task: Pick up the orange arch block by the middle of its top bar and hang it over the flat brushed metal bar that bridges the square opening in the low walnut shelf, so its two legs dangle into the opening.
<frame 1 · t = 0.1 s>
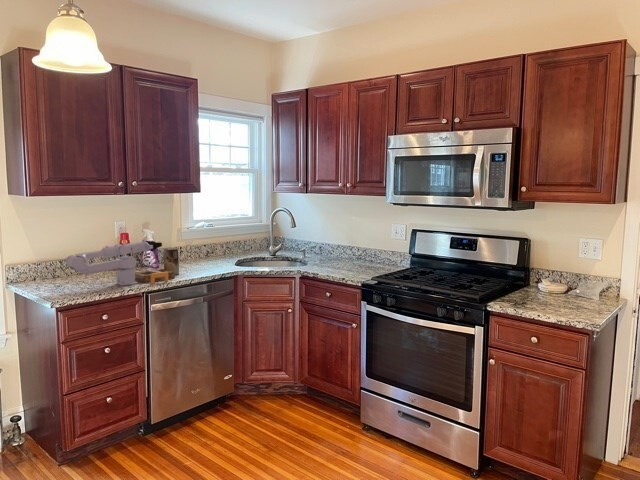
hand: (158, 243, 283), 22 cm above the worktop, tool horizontal, fingers open, 7 cm apart
coffee box: (171, 274, 302), on the worktop
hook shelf: (153, 278, 286), on the worktop
orange arch block: (159, 282, 275), on the worktop
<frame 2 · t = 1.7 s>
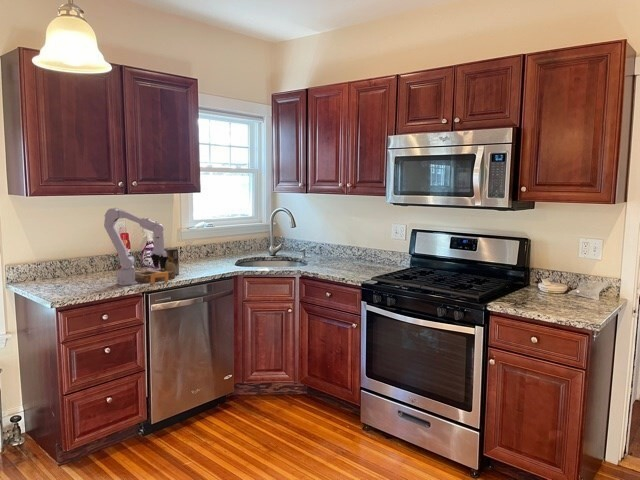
hand: (159, 267, 274), 9 cm above the worktop, tool pointing down, fingers open, 7 cm apart
nothing on the worktop moved.
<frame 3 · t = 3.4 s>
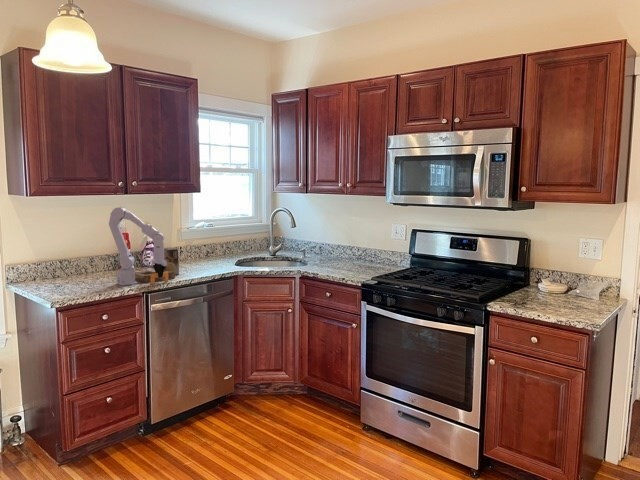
hand: (159, 276, 274), 4 cm above the worktop, tool pointing down, fingers closed on orange arch block, 2 cm apart
orange arch block: (159, 282, 275), on the worktop, touching gripper
everything else where it was.
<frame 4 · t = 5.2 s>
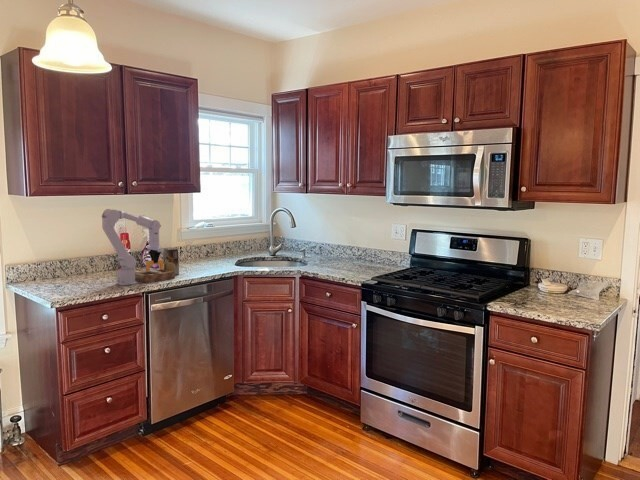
hand: (154, 262, 282), 10 cm above the worktop, tool pointing down, fingers closed on orange arch block
orange arch block: (154, 270, 282), point 6 cm above the worktop, touching gripper
everything else where it was.
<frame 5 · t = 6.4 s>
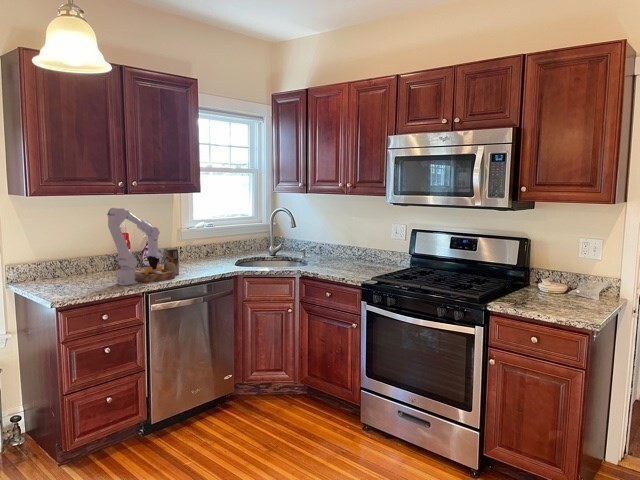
hand: (153, 268, 285), 6 cm above the worktop, tool pointing down, fingers closed on orange arch block, 2 cm apart
orange arch block: (153, 276, 285), point 1 cm above the worktop, touching gripper, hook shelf
everything else where it was.
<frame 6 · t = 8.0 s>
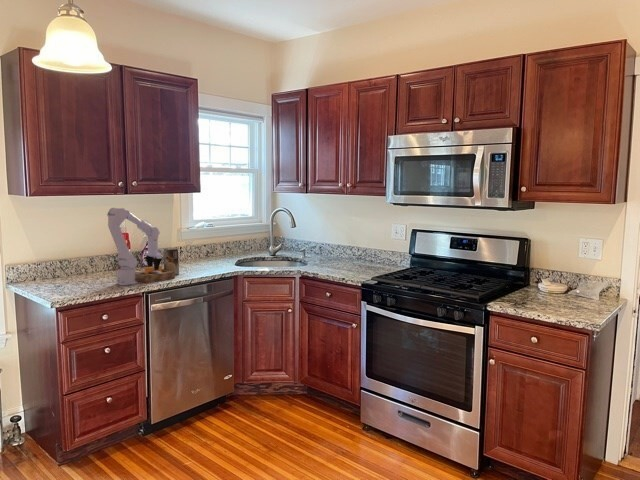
hand: (153, 269, 285), 6 cm above the worktop, tool pointing down, fingers open, 7 cm apart
orange arch block: (153, 276, 285), point 1 cm above the worktop, touching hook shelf
everything else where it was.
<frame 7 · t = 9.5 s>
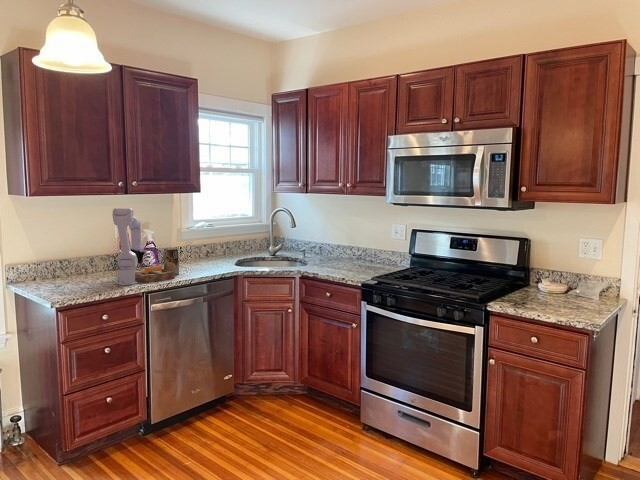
hand: (136, 262, 289), 9 cm above the worktop, tool pointing down, fingers open, 7 cm apart
nothing on the worktop moved.
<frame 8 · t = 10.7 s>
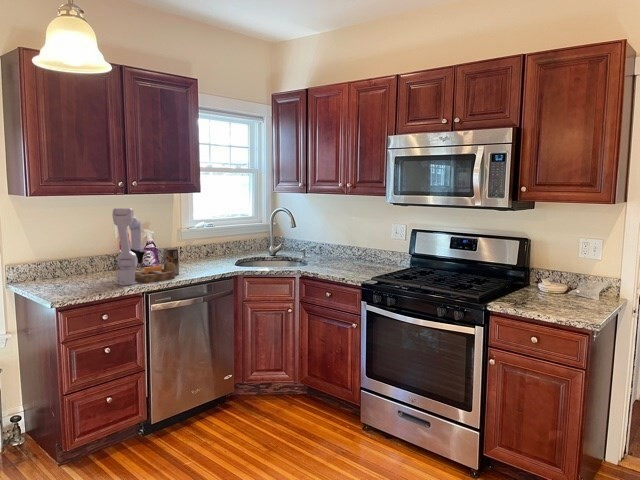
hand: (136, 262, 289), 9 cm above the worktop, tool pointing down, fingers open, 7 cm apart
nothing on the worktop moved.
at the end: orange arch block 0.2 cm off-centre on the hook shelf, point 1.5 cm above the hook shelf's base; orange arch block touching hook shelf; the gripper is holding nothing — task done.
